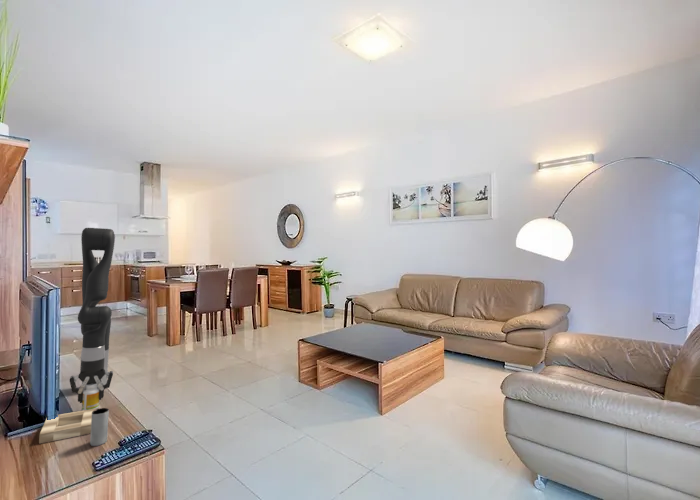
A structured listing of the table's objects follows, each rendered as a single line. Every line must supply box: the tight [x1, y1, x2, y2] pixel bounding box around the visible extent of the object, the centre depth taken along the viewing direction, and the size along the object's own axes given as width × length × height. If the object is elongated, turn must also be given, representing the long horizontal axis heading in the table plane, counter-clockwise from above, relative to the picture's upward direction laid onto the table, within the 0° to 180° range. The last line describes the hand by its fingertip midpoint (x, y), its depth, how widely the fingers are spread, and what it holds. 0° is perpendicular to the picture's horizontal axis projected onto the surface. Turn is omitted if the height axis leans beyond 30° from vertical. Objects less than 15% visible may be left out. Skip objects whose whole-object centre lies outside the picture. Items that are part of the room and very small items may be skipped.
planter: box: [89, 407, 110, 447], centre depth 114 cm, size 4×4×10 cm
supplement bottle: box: [81, 383, 100, 411], centre depth 136 cm, size 5×5×10 cm
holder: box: [38, 408, 96, 444], centre depth 122 cm, size 14×14×3 cm
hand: (90, 400), depth 136 cm, fingers closed on supplement bottle, 5 cm apart
